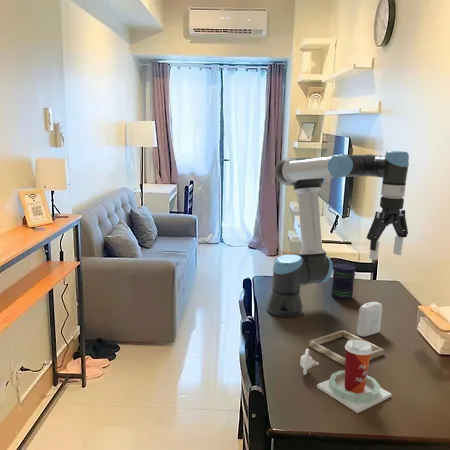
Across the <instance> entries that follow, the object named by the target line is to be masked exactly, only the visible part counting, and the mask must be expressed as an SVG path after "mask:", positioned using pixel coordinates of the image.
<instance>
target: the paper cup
mask: <svg viewBox="0 0 450 450" xmlns="http://www.w3.org/2000/svg"><path fill="white" fill-rule="evenodd" d="M365 341H366V340H365ZM365 341H362V340H349V339H348V340H347V342H346V343H345V345H344V349H345V357H344V358H345V366H344V370H345V389H346V390H347V391H350V392H353V393H363V392H364V388H365V383H366V378H367V375H368V371H369V366H370V361H371V360H370V355H371V353H372V352H373V351H372V349H371V345H370V344H369V343H367V342H365Z"/></svg>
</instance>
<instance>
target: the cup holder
mask: <svg viewBox="0 0 450 450" xmlns="http://www.w3.org/2000/svg"><path fill="white" fill-rule="evenodd" d="M316 387H317V389H319V390H321V391H322V392H323V393H324V394H327V395H329V397H331V398H333V399H334V400H336V401H338V402H339V403H340V404H342V405H344V406H345V407H347V408H348V409H350V410H351V411H353V412H355V413H357V414H359V413H362V412H363V411H365V410H367V409H369V408H371V407H373V406H376V405H378V404H379V403H381V402H384V401H385V400H387V399H389V397H390V398H391V397H392V393H391V392H389V391H387V390H385V389H384V388H382V387H381V385H380V384H379V382H378V381H377V380H376V379H375V378H373V377H372V376H369V375H368V374H367V378H366V383H365V388H364V392H363V393H353V392H350V391H347V390H346V389H345V369H344V370H343V369H342V370H338V371H335V372H333V373H331V375H330V377H329V379H327V380H324V381H322V382H320V383H317V385H316Z"/></svg>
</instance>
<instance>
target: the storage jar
mask: <svg viewBox="0 0 450 450" xmlns="http://www.w3.org/2000/svg"><path fill="white" fill-rule="evenodd" d="M355 275H356V266H355V265H354V264H350V263H343V262H342V263H341V262H339V263H333V272H332V284H331V288H330V289H331V290H330V291H331V292H330V293H331V294H330V297H331V298H332V299H334V300H338V301H341V302H342V301H343V302H344V301H346V302H347V301H351V300H353V293H354V281H355Z"/></svg>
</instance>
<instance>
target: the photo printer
mask: <svg viewBox="0 0 450 450" xmlns="http://www.w3.org/2000/svg"><path fill="white" fill-rule="evenodd" d="M383 309H384V308H383V305H382V303H380V302H377V301H370V302H367V303H364V304H362V305H361V306H360V307H359V309H358V319H357V324H356V325H357V326H356V333H357V335H358V336H359V337H368V336H371V335H375V334H378V333H380V332H381V331H380V330H381V325H382V324H381V323H382V317H383V316H382V315H383Z"/></svg>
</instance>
